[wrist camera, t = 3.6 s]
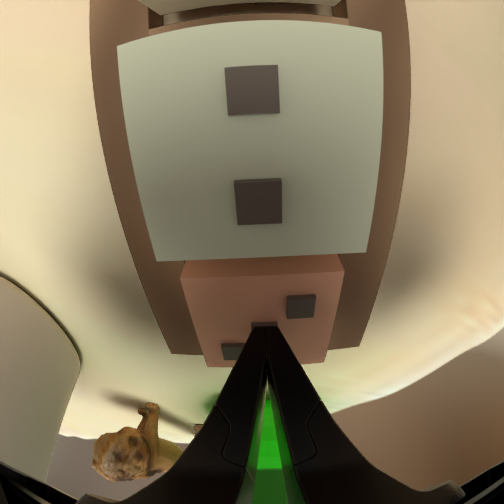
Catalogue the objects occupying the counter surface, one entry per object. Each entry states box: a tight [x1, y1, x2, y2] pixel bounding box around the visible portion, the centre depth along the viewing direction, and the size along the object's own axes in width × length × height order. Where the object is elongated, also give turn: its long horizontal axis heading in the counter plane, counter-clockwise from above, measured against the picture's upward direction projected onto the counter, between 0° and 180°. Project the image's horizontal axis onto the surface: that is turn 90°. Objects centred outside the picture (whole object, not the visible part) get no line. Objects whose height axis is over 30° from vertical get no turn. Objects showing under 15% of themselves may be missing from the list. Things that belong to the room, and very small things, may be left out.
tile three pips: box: [180, 254, 345, 367], centre depth 11 cm, size 5×5×3 cm
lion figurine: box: [91, 403, 202, 482], centre depth 20 cm, size 15×5×9 cm, turn 46°
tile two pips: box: [117, 20, 383, 261], centre depth 6 cm, size 5×5×3 cm
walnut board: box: [90, 0, 411, 355], centre depth 8 cm, size 10×21×2 cm, turn 3°
